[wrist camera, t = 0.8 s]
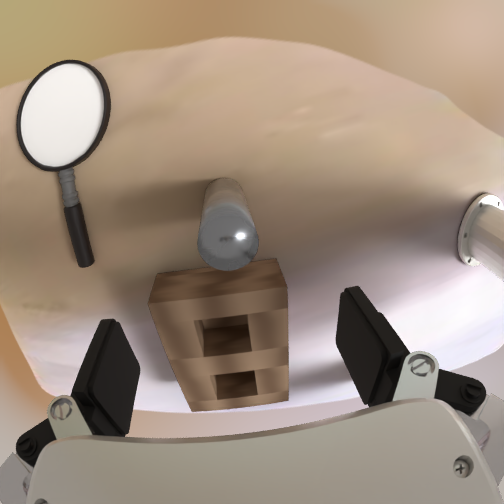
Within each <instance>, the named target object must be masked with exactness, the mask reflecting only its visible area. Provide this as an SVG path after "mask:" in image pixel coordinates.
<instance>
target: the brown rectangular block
mask: <svg viewBox="0 0 504 504" xmlns="http://www.w3.org/2000/svg"><path fill="white" fill-rule="evenodd" d="M148 306H149V309H150V312H151V315H152V318H153V320H154V323H155V326H156V329H157V331H158V334H159V337H160V339H161V342H162V344H163V347H164V349H165V352H166V354H167V357H168V359H169V362H170V364H171V367H172V369H173V371H174V374H175V376H176V378H177V381H178V383H179V385H180V387H181V390H182V392H183V394H184V396H185V398H186V401H187V403H188V405H189V407H190V409H191V411H192V412H196V411H211V410H223V409H233V408H242V407H250V406H257V405H264V404H271V403H277V402H283V401H288V399H289V352H288V294H287V284H286V282H285V279H284V277H283V274H282V272H281V269H280V267H279V264H278V262H277V260H276V259H269V260H261V261H254V262H249V263H248V264H247V265H245V266H244V267H242V268H240V269H236V270H231V271H224V270H219V269H216V268H213V267H207V268H199V269H191V270H184V271H175V272H167V273H159V274H157V276H156V279H155V282H154V285H153V288H152V292H151V295H150V298H149V301H148Z"/></svg>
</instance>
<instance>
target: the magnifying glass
mask: <svg viewBox="0 0 504 504" xmlns="http://www.w3.org/2000/svg"><path fill="white" fill-rule="evenodd" d="M110 110H111V99H110V92H109V89H108V86H107V83H106V81H105V79H104V77H103V76H102V74H101V73H100V72H99V71H98V70H97V69H96V68H95V67H93V66H91V65H90V64H87V63H85V62H82V61H78V60H64V61H60V62H57V63H54V64H52V65H50V66H49V67H47V68H46V69H44V70H43V71H42V72H40V73H39V74H38V75H37V76H36V77H35V78H34V79H33V81H32V82H31V83H30V85H29V86H28V88H27V89H26V91H25V93H24V95H23V97H22V100H21V102H20V106H19V109H18V114H17V136H18V141H19V144H20V147H21V149H22V151H23V153H24V155H25V156H26V157H27V159H28V160H29V161H30V162H31V163H32V164H34V165H35V166H37V167H39V168H40V169H41V170H45V171H51V172H54V171H59V173H58V176H59V177H60V179H59V183H60V184H61V187H62V192H63V195H62V199H63V200H64V202H63V204H64V206H65V207H64V213H65V217H66V221H67V226H68V230H69V234H70V237H71V241H72V245H73V248H74V252H75V255H76V259H77V262H78V265H79V267H81V268H85V267H89V266H91V265H92V264H93V263H94V257H93V253H92V250H91V246H90V242H89V238H88V234H87V230H86V226H85V221H84V217H83V212H82V207H81V204H80V203H78V202H79V198H78V197H77V195H78V192H77V191H76V188H75V182H74V180H75V176H74V175H73V173H74V169H73V168H72V167H74V166H76V165H78V164H80V163H81V162H83V161H84V160H86V159H87V158H88V157H89V156H90V155H91V154H92V152H93V151H94V150H95V149H96V148H97V146H98V145H99V143H100V141H101V140H102V138H103V136H104V134H105V131H106V129H107V126H108V122H109V117H110Z"/></svg>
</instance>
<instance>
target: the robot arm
mask: <svg viewBox="0 0 504 504" xmlns="http://www.w3.org/2000/svg"><path fill="white" fill-rule="evenodd" d="M458 252H459V255H460V258H461V259H462V261H463V262H464V263H466V264H467V265H469V266H478V265H480V264H482V265H483V266H485V267H486V268H487V269H488V270H490V271H491V272H492V273H494V274H495V275H496V276H497V277H499V278H500V279H501V280H502V281H503V282H504V209H503V205H502V203H501V201H500V199H499V198H498V197H496V196H495V195H493V194H490V193H486V194H483V195H481V196H479V197H478V198H477V199H476V200H475V201H474V202H473V203H472V204H471V205H470V207H469V208H468V210H467V212H466V214H465V216H464V218H463V220H462V223H461V227H460V230H459V235H458ZM336 345H337V348H338V350H339V352H340V354H341V356H342V358H343V360H344V362H345V364H346V367H347V369H348V371H349V373H350V375H351V377H352V379H353V382H354V384H355V386H356V388H357V390H358V392H359V395H360V397H361V399H362V401H363V403H364V404H365V405H366V404H368V406H369V408H366V409H362V410H359V411H355V412H351V413H347V414H344V415H340V416H336V417H332V418H328V419H324V420H319V421H315V422H310V423H306V424H301V425H296V426H291V427H285V428H279V429H274V430H267V431H260V432H253V433H244V434H235V435H225V436H213V437H197V438H134V437H125V435H126V434H128V433H129V429H130V422H131V417H132V411H133V406H134V400H135V395H136V390H137V385H138V380H139V375H140V365H139V363H138V361H137V359H136V357H135V355H134V353H133V351H132V349H131V347H130V344H129V342H128V340H127V338H126V336H125V334H124V332H123V329H122V327H121V325H120V323H119V322H116V320H115V319H102V320H101V321H100V323H99V325H98V328H97V330H96V332H95V334H94V337H93V339H92V341H91V344H90V346H89V348H88V351H87V353H86V355H85V358H84V360H83V363H82V365H81V368H80V370H79V373H78V375H77V378H76V381H75V383H74V386H73V389H72V393H71V396H68V395H61V396H58V397H56V398H55V399H54V400H52V402H51V403H50V404H49V407H48V410H47V414H48V418H47V419H46V420H44V421H43V422H41V423H39V424H38V425H36V426H35V427H33V428H32V429H30V430H29V431H27V432H26V433H24V434H23V435H21V436H20V437H19V439H18V441H17V443H16V452H17V453H16V454H14V453H12V454H11V455H10V456H9V457H8V459H7V460H6V461H5V462H4V463H3V464H2V466H1V467H0V501H1V502H2V504H504V502H503V499H502V497H501V494H500V491H499V489H498V485H499V483H500V481H501V479H502V477H503V476H504V401H503V400H502V399H500V398H498V397H497V396H495V395H493V394H490V396H489V395H487V394H486V390H485V387H484V386H483V384H482V383H481V382H480V381H478V380H476V379H474V378H470V377H467V376H463V375H459V374H456V373H452V372H449V371H445V370H442V369H439V364H438V362H437V360H436V358H435V357H434V356H433V355H431V354H430V353H427V352H423V351H416V352H412V353H410V352H409V350H408V349H407V348H406V346H405V345H404V343H403V342H402V340H401V339H400V338H399V336H398V335H397V333H396V332H395V330H394V329H393V328H392V326H391V325H390V324H389V322H388V321H387V319H386V318H385V317H384V315H383V314H382V313H380V312H378V311H377V310H376V309H375V307H374V306H373V304H372V303H371V302H370V300H369V299H368V298H367V296H366V295H365V294H364V292H363V291H362V290H361V288H360V287H359V286H355V287H349V288H345V290H344V292H342V293H341V295H340V305H339V315H338V324H337V332H336Z"/></svg>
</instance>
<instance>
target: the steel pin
mask: <svg viewBox="0 0 504 504" xmlns="http://www.w3.org/2000/svg"><path fill="white" fill-rule="evenodd" d="M197 245H198V250H199V253H200V255H201V257H202V258H203V260H204V261H205V262H206V263H207V264H208V265H210V266H212V267H213V268H216V269H219V270H224V271H231V270H236V269H240V268H242V267H244V266H245V265H247V264H248V263H249V262H250V261H251V260H252V259H253V258H254V256H255V255H256V253H257V250H258V245H259V239H258V235H257V232H256V229H255V226H254V223H253V220H252V217H251V214H250V211H249V208H248V205H247V202H246V199H245V196H244V193H243V190H242V188H241V186H240V185H239V184H238V183H237V182H236V181H234V180H233V179H230V178H219V179H216V180H214V181H213V182H212V183H211V184H210V185H209V186H208V187H207V189H206V192H205V198H204V204H203V210H202V216H201V222H200V228H199V234H198V242H197Z"/></svg>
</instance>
